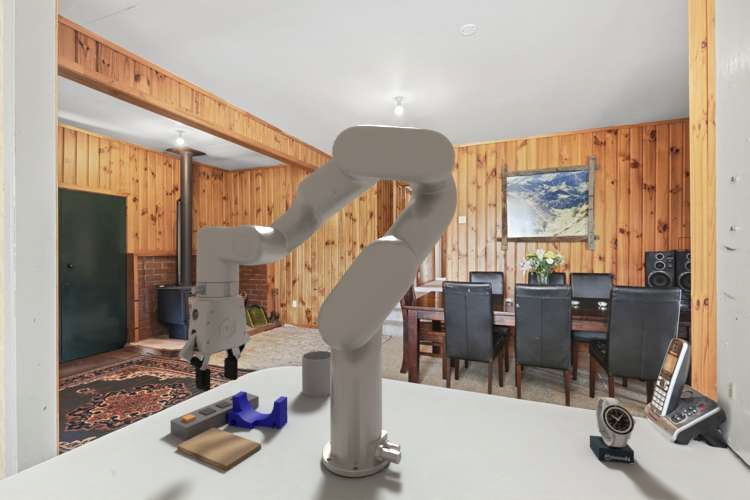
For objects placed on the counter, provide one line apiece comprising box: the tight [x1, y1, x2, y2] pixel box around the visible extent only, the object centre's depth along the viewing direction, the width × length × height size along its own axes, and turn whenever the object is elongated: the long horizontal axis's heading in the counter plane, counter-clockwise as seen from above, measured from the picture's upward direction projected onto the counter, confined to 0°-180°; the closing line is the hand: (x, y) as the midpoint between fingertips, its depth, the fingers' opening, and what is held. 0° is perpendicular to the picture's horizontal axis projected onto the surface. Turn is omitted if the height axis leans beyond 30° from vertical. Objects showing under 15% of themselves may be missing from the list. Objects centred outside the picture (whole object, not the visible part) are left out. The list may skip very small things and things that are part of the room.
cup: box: [301, 350, 331, 398], centre depth 96 cm, size 8×8×10 cm
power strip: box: [170, 392, 260, 441], centre depth 81 cm, size 18×6×4 cm, turn 148°
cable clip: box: [227, 390, 288, 430], centre depth 79 cm, size 12×4×6 cm, turn 74°
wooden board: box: [176, 427, 262, 471], centre depth 69 cm, size 14×8×1 cm, turn 61°
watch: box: [589, 396, 637, 464], centre depth 65 cm, size 6×8×11 cm
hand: (217, 382), depth 69 cm, fingers open, 5 cm apart
